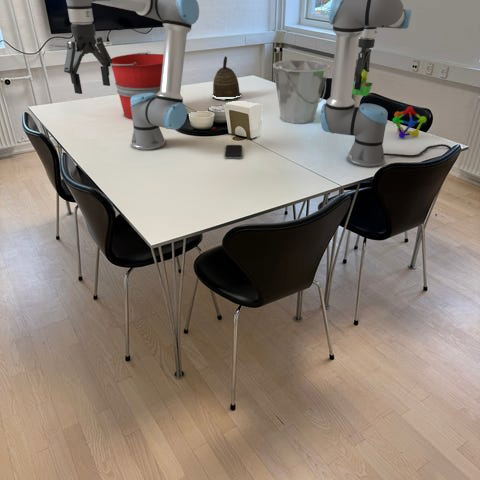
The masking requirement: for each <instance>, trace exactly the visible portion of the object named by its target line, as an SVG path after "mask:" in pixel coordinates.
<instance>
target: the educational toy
mask: <svg viewBox="0 0 480 480" xmlns="http://www.w3.org/2000/svg"><path fill="white" fill-rule="evenodd" d="M407 114H408V115H409V121H407V120H402V118H403V117H405V116H406V115H407ZM412 114H413V115H414V116H415V117H417V118H418V119H417V120H414V119H413V115H412ZM393 116H394V117H393V118H392V124H394V125H396V127H397V128H396V132H397V133H398V137H399V138H400V139H404V138H405V137H406V136H413V137H418V136H419V134H420V131H419V130H420V128H421V126H422V125H423V124H425V123H426V122H427V117H426V116H424V115H423V116H421V115H420V114H418V113H417V112H416V111H414V107H413V106H407V107H406V109H405V110H403V111H395V112H394V113H393ZM401 124H406V125H408V126H407V127H406V128H405V129H404V127H402V126H401ZM416 124H418V125H417V127H416V129H414V130H413V131H412V130H409V129H410V128H413V127H414V126H415V125H416Z"/></svg>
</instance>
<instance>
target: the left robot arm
mask: <svg viewBox="0 0 480 480" xmlns="http://www.w3.org/2000/svg"><path fill="white" fill-rule="evenodd" d="M65 1H66V6H67V13H68V18H69V23H70V29H71V36H73V38H74V41H71V40H67V41H66V48H67V50H66V56H65V62H64V68H63V72H64V73H66V74H69V76H70V81H71V84H72V85H73V89H74V94H78V95H82V94H83V90H82V83H81V78H80V74H79V73H78V71H79V67H80V65H81V63H82V60H83V58H84V56H85V55H88V54H92V55H93V56H94V57H95V58H96V60H97V61H98V62H99V64H100V65H101V66H100V67H99V68H100V73H101V80H102V86H107V87H110V86H111V81H110V69H109V68H110V67H112V66H111V64H112V60H111V59H112V57H111V55H110V54H109V52H108V50H107V47H106V46H105V44H104V40H103V37H102V36H97V35H96V34H97V33H96V28H95V24H94V23H93V22H94V14H93V6H92V4H93V3H94V4H99V5H103V6H107V7H113V8H118V9H123V10H127V11H132V12H135V13H136V14H137V15H139V16H143V17H145V18H150V19H153V20H156V21H159V22H162V26H163V27H164V30H165V34H164V35H165V36H164V47H163V55H164V56H163V66H162V76H161V86H160V91H159V92H158V93H157V94H156V93H142V94H137V95H134V96H132V97H131V105H130V106H131V112H132V119H131V120H132V125H133V132H132V135H131V140H130V143H131V147H132V148H134V149H135V150H141V151H151V150H153V151H154V150H157V149H161V148H163V147H164V146H165V144H166V140H165V137H164V135H163V132H162V130H161V128H163V129H166V130H172V131H174V130H178V129H180V128H182V126H183V125H184V124H185V122H186V120H187V118H188V109H187V106H186V105H185V104H184V97H183V96H182V94H181V90H182V89H181V88H182V82H183V72H184V64H185V56H186V55H185V53H186V46H187V36H188V34H189V33H190V32H191V31H192V27H193V25H194V24H196V23H197V21H198V20H199V16H200V6H199V2H198V0H65Z"/></svg>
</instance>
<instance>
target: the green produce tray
mask: <svg viewBox="0 0 480 480" xmlns="http://www.w3.org/2000/svg"><path fill="white" fill-rule="evenodd" d="M361 76H362V80H361V87H360V90H356V89H354V88H355V81H356V80H354V82H353V90H352V96H353V95H354V96H359V97H361V96H362V97H367V96H368V95H370V92H371V90H372V86H374V85H373V84H374V83H373V82H368V81H367V80H368V72H366V71H365V69H363V71H362V75H361Z"/></svg>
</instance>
